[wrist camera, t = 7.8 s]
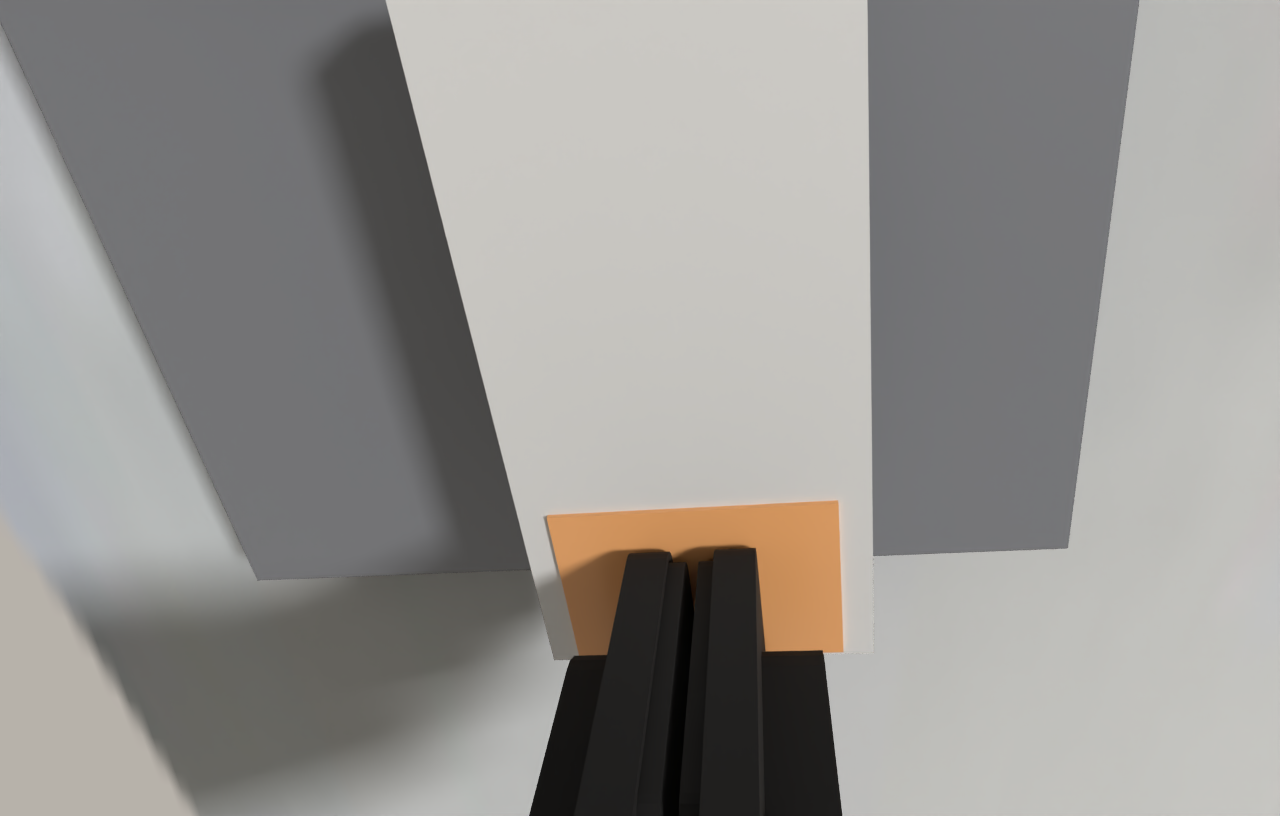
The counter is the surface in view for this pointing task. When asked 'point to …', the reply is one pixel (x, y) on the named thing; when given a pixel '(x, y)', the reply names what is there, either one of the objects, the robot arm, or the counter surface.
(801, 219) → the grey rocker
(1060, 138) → the control panel
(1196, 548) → the counter surface
